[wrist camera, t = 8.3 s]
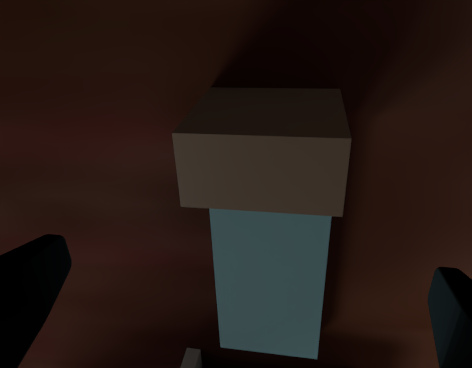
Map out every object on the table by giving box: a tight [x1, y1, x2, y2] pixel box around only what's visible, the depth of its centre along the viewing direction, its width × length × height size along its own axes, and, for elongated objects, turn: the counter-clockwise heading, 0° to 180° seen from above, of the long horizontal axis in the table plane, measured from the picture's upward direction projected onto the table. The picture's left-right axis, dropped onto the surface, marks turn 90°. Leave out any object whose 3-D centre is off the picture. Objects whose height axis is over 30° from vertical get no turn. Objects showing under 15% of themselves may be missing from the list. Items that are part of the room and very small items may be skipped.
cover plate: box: [172, 87, 352, 359], centre depth 19 cm, size 16×6×6 cm, turn 2°
